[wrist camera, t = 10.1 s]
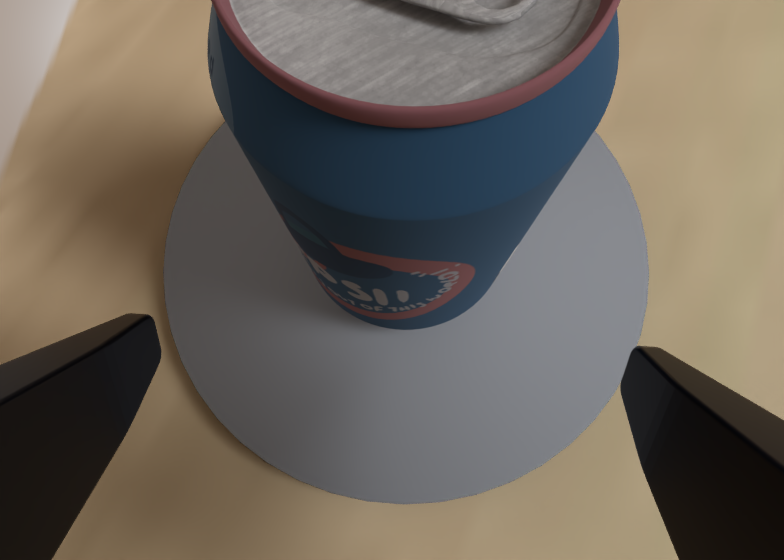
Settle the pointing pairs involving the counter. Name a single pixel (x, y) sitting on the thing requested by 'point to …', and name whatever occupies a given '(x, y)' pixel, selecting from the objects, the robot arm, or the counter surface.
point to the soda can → (411, 133)
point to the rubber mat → (404, 340)
